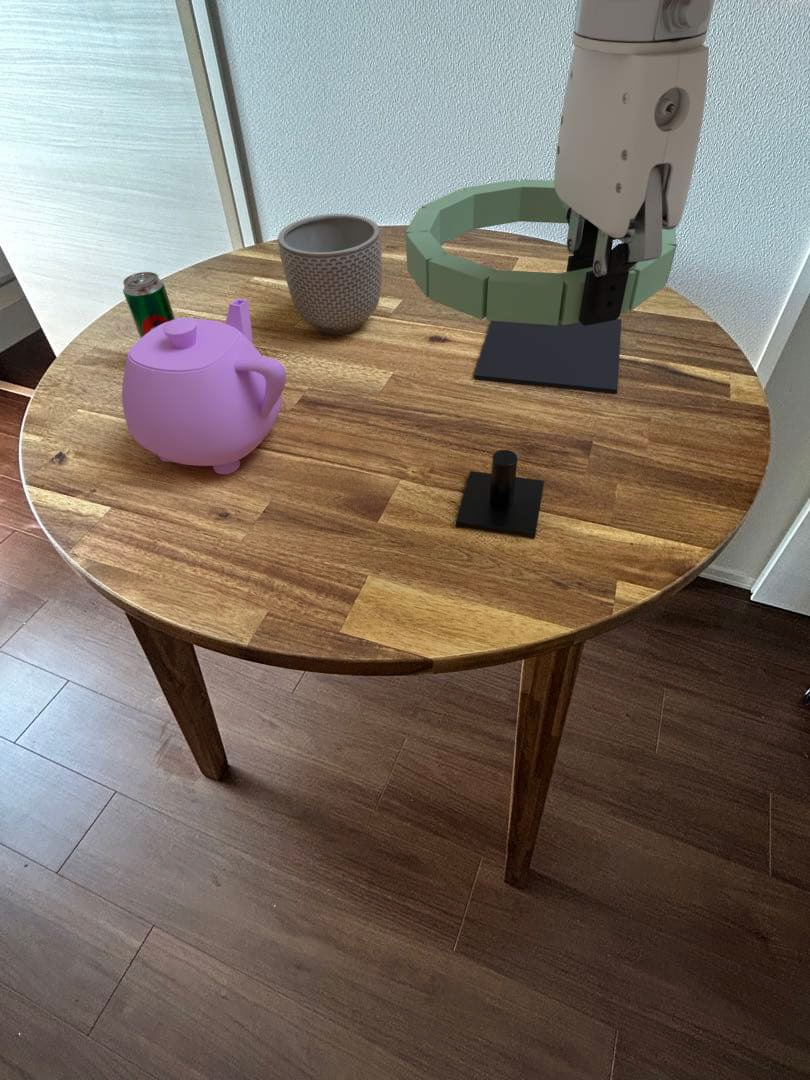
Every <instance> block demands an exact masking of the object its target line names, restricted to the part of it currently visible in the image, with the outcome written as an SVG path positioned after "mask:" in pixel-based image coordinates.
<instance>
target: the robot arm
mask: <svg viewBox="0 0 810 1080" xmlns="http://www.w3.org/2000/svg"><path fill="white" fill-rule="evenodd" d="M714 4H715V0H576V4H575V12H574V13H575V14H574V21H573V22H574V23H573V33H572V41H571V43H572V45H573V46H574V49H573V52H572V58H571V62H570V67H569V72H568V77H567V82H566V87H565V92H564V99H563V104H562V110H561V116H560V123H559V130H558V135H557V142H556V143H557V144H556V153H555V163H554V164H555V165H554V179H553V180H554V186H555V190H556V193H557V195H558V196H559V199H560V202H561V204H562V206H563V208H564V210H565V212H566V214H567V215H566V219H567V221H568V223H567V225H568V228H567V229H568V230H567V235H566V236H567V238H566V252H567V253H568V255H569V256H568V257H567V266H566V270H565V272H570V271H575V270H580V269H586V268H591V267H593V271H588V272H586V278H585V284H584V290H583V297H582V303H581V309H580V315H579V322H580V323H581V324H582V325H584V326H587V325H592V324H597V323H602V322H607V321H612V320H616V319H620V316H621V314H620V313H621V308H622V304H623V299H624V294H625V289H626V285H627V280H628V275H629V271H632V270H634V269H635V267H636V263H637V262H642V261H647V260H653V259H658V258H659V257H660V256H661V254H662V229H665V230H670V229H674V228H675V229H676V228H677V227H678V226H679V224H680V223H681V220H682V218H683V214H684V212H685V208H686V204H687V201H688V195H689V190H690V187H691V182H692V177H693V173H694V167H695V163H696V158H697V154H698V153H697V152H698V148H699V147H698V146H699V142H700V136H701V130H702V124H703V117H704V111H705V105H706V104H705V103H706V96H707V87H708V86H707V84H708V77H709V60H710V59H709V57H710V48H709V46H705V45H704V44H705V42H706V38H707V34H708V29H709V24H710V21H711V16H712V13H713V8H714ZM630 219H631V220H630ZM623 238H625V241H624V243H623V242H621V243H617V244H616V245H615V246H614V247H613V244H614V241H617V240H619V239H623Z"/></svg>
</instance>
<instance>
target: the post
mask: <svg viewBox="0 0 810 1080" xmlns="http://www.w3.org/2000/svg"><path fill="white" fill-rule="evenodd" d="M517 467H518V455H517V454H516V453H515V452H514V451H512V450H509V449H501V450H497V451H495V452H494V453H493V455H492V462H491V473H490V472H483V471H482V472H481V471H475V470H470V471H469V474H468V477H467V480H466V484H465V488H464V491H463V495H462V498H461V501H460V505H459V509H458V511H457V516H456V519H455V527H456V528H463V529H469V530H475V531H482V532H489V533H494V534H503V535H509V536H515V537H521V538H529V539H536V535H537V528H538V522H539V518H540V517H539V516H540V510H541V505H542V497H543V491H544V485H545V480H543V479H536V478H528V477H520V476H517Z"/></svg>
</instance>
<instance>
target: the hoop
mask: <svg viewBox="0 0 810 1080" xmlns="http://www.w3.org/2000/svg"><path fill="white" fill-rule="evenodd" d="M566 215H567V214H566V212H565V210H564V208H563V206H562V204H561V202H560V199H559V196H558V195H557V193H556V190H555V186H554V179H526V178H525V179H524V178H523V179H522V178H521V179H520V180H518V179H511V180H505V181H499V182H493V183H486V184H479V185H474V186H467V187H463V189H461V188H459V189H456V190H454V191H452V192H450V193H448V194H445V195H443V196H441V197H439V198H436V199H434V200H433V201H430V202H428V203H426V204H423V205H422V206H421V207H419V208H418V209H417V211H416V213H415V214H414V217H413V218H412V220H411V222H410V223H409V225H408V227H407V228H406V230H405V251H406V252H405V253H406V255H405V256H406V270H407V272H408V274H409V275H410V276H411V278H412V280H414V282H415V283H416V285H417V286H418V288H419V289H420V291H421V292H422V293H423V295H424V296H425V298H428V300H430V301H432V302H435V303H437V304H439V305H442V306H445V307H448V308H450V309H453V310H456V311H458V312H460V313H463V314H466V315H468V316H471V317H474V318H476V319H479V320H484V319H485V320H486V321H489V322H492V321H501V322H515V323H529V324H543V325H558V322H560V323H561V324H562V325H568V324H572V323H577V322H579V315H580V309H581V303H582V297H583V290H584V284H585V278H586V272H588V271H593V267H591V268H586V269H580V270H575V271H570V272H566V271H564V272H547V271H545V272H544V271H527V270H509V269H496V268H493V267H490V266H487V265H484V264H481V263H478V262H475V261H472V260H469V259H466V258H463V257H460V256H458V255H457V256H456V255H454V254H451V253H448V252H447V251H446V250H445V249H444V247H443V246H442V245H444V244H446V243H449V242H450V241H452V240H454V239H456V238H458V237H460V236H462V235H464V234H466V233H468V232H470V231H472V230H477V229H482V228H489V227H494V226H501V225H506V224H512V223H519V222H523V223H549V224H568V221H567V219H566ZM630 220H631V219H630ZM618 240H619V241H620V242H621V243H624V241H625V238H623V239H618ZM677 246H678V242H677V234H676V228H674V229H670V230H665V229H662V254H661V256H660V257H659V258H658V259H653V260H647V261H642V262H637V263H636V267H635V269H634V270H632V271H629V275H628V280H627V285H626V289H625V294H624V299H623V304H622V308H621V313H620V315H621V314H622V315H623V314H627V313H629V311H633V310H635V309H636V308H637V307H639V306H640V305H641V304H643V303H644V302H645V301H647V300H648V299H650V298H651V297H652V296H654V295H655V294H657V292H659V291H660V290H662V289H664V287H666V286H667V284H668V282H669V278H670V273H671V270H672V267H673V262H674V258H675V253H676V250H677Z"/></svg>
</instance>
